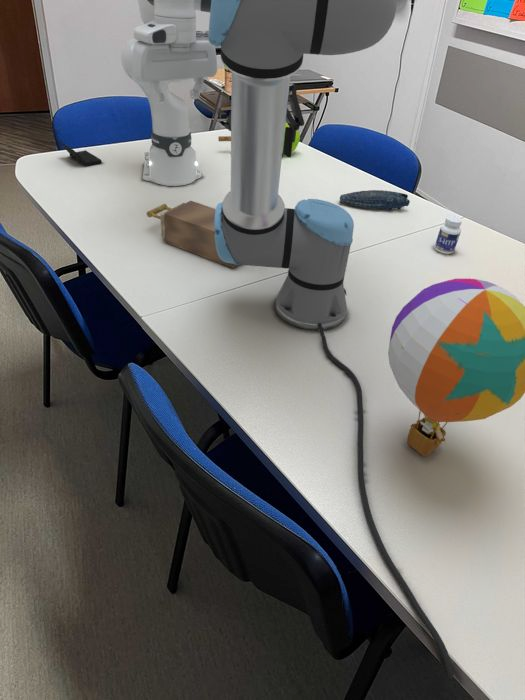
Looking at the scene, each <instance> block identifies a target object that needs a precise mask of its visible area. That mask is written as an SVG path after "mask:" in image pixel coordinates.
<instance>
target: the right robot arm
mask: <svg viewBox="0 0 525 700" xmlns="http://www.w3.org/2000/svg"><path fill="white" fill-rule="evenodd" d="M396 12H397V0H212V1H211V10H210V12H209V22H208V23H209V25H208V31H209V42H210V43H211V44H212V45H215V47H216V48H220V60H221V63H222V65H223V66H224V67H225V68H226V69H227V70H228V71H229V72H230V75H231V77H230V78H231V82H230V83H231V84H230V89H231V94H230V95H231V96H230V100H231V101H230V105H231V106H230V112H229V114H228V117H227V118H226V121H225V122H224V128H225V129H226V130H228V131H229V132H230V136H231V141H230V191H228V193H226V195H225V196H224V198H223V200H222V202H219V203H218V204H217V205H216V207H215V209H216V210H215V219H214V229H215V244H216V250H217V253H218V256H219V258H220V259H221V260H222V261H224V262H226V263H232V264H237V265H238V266H251V267H265V268H278V269H288V270H287V271H288V272H287V275H286V278H285V279H284V282H283V283H282V285H281V287H280V290H279V291H278V294H277V296H276V300H275V311H276V313H277V315H278V316H279V317H280V318H281V319H282V320H283V321H284V322H286V323H287V324H289V325H291V326H293V327H296V328H300V329H304V330H310V331H318V332H319V335H320V337H321V342H322V347H323V350H324V352H325V354H326V355H327V357H328V358H329V360H331V361H332V362H333V363H334V364H335V365H336V366H338V367H339V368H340V369H342V370H343V371H344V372H345V373H346V374H347V375H348V376H349V377H350V378H351V380H352V382H353V383H354V386H355V389H356V393H357V395H356V396H357V414H358V415H357V417H358V427H357V428H358V429H357V430H358V431H357V474H358V475H357V479H358V486H359V492H360V498H361V503H362V508H363V510H364V514H365V518H366V521H367V525H368V526H369V529H370V532H371V535H372V537H373V539H374V541H375V544H376V546H377V548H378V550H379V553H380V554H381V556H382V558H383V560H384V562H385V564H386V566H387V567H388V569H389V571H390V573H392V575H393V577H394V579H395V580H396V582H397V583H398V584H399V586H400V588H401V590H402V591H403V592H404V595H405V596H406V597H407V600H408V601H409V603H410V606H411V607H412V608H413V610H414V612H415V613H416V615H417V616H418V617H419V619H420V621H421V622H422V624H423V625H424V627H425V629H427V631H428V632H429V634H430V636H431V638H432V639H433V641H434V643H435V645H436V646H437V648H438V651H439V654H440V656H441V658H442V662H443V666H444V670H445V671H444V673H445V675H446V677H447V678H448V679H450V680H452V679H453V678H454V671H453V664H452V662H451V658H450V654H449V652H448V649H447V647H446V645H445V643H444V641H443V639H442V637H441V635H440V633H439V632H438V630H437V629H436V627H435V626H434V625H433V624H432V622H431V620H430V619H429V617H428V616H427V615H426V613H425V612H424V610H423V609H422V607H421V605H420V604H419V602H418V600H417V599H416V597H415V595H414V594H413V592H412V590H411V589H410V587H409V585H408V584H407V581H406V580H405V579H404V578H403V576H402V575H401V573H400V571H399V569H398V568H397V566H396V565H395V563H394V562H393V559H392V558H391V557H390V554H389V553H388V550H387V549H386V547H385V545H384V543H383V541H382V539H381V536H380V534H379V530H378V529H377V527H376V524H375V521H374V518H373V515H372V511H371V507H370V504H369V499H368V494H367V489H366V484H365V483H366V482H365V474H364V423H365V422H364V421H365V420H364V403H363V391H362V387H361V384H360V381H359V379H358V378H357V376H356V375H355V373H354V372H353V371H352V370H351V369H350V368H349V367H348V366H346V365H345V364H344V363H343V362H342V361H340V360H339V359H338V358H336V357H335V356H334V354H332V352H331V351H330V349H329V346H328V343H327V337H326V334H325V332H324V330H325V331H326V330H329V329H333V328H336V327H337V326H339V325H340V324H342V323H343V322H344V320H345V318H346V315H347V310H348V309H347V308H348V307H347V306H348V305H347V297H346V296H348V295H347V289H345V286H344V280H345V275H346V271H347V267H348V266H347V265H348V260H349V257H350V251H351V245H352V244H353V242H354V239H353V236H354V228H355V223H354V219H353V217H352V216H351V214H350V213H349V212H348V211H347V210H345V209H344V208H342V207H341V206H340V205H337V204H335V203H333V202H331V201H328V200H323V199H318V198H307V199H301V200H299V201H298V202H297V203H296V205H295V206H294V208H288V207H285V206H286V205H285V202H284V199H283V198H282V197H281V196H280V194H279V187H280V180H281V171H282V159H283V155H284V156H285V157H286V158H291V157H292V152H293V151H292V142H295V137H296V130H298V131H299V130H300V127H303V126H304V125H305V120H304V117H303V113H302V109H301V105H300V103H299V99H298V95H297V92H298V91H297V88H298V87H297V85H296V84H294V83H292V82H291V77H292V76H293V75H295V74H296V73H297V72H299V70H300V69H301V67H302V66H303V62H304V55H317V56H318V55H321V56H339V55H347V54H353V53H356V52H360V51H364V50H366V49H369V48H371V47H373V46H375V45H376V44H378V43H379V42H380V41H381V40H383V38H384V37H385V36H386V35H387V34H388V32H389V30H390V29H391V27H392V25H393V23H394V20H395V17H396ZM288 103H289V106H290V110H291V111H290V110H289V108H288ZM291 112H292V113H291ZM285 123H287V124H288V125H289V127H285ZM284 131H285V138H284ZM283 141H284V148H283ZM282 151H283V153H282ZM291 151H292V152H291Z"/></svg>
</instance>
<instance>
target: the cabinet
mask: <svg viewBox="0 0 525 700" xmlns="http://www.w3.org/2000/svg"><path fill="white" fill-rule="evenodd" d="M184 203H185V204H183V205H181V206H179V207H177V208H175V209H172V210H170V211H168V210H167V211H168V212H166V211H165V212H166V213H164V212H163V213H164V216H165V238H164V239H165V243H166V244H168V245H170V246H173V247H176V248H179V249H181V250H184V251H186V252H189V253H191V254H193V255H197V256H199V257H202V258H205V259H207V260H210V261H212V262H215V263H217V264H220V265H222V266H225V267H228V268H230V269H235V268H237V267H238V266H239V265H237V264H232V263H226V262H224V261H222V260H221V259H220V258H219V256H218V253H217V250H216V244H215V229H214V219H215V210H216V208H215V207H211V206H208V205H206V204H203V203H200V202H197V201H194V200H189V201H186V202H184Z"/></svg>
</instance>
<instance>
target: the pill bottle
mask: <svg viewBox="0 0 525 700" xmlns="http://www.w3.org/2000/svg"><path fill="white" fill-rule="evenodd" d="M462 222H463V219H461V218H460V217H458V216H455V215H448V216H446V218H445V220H444V223H443V224H442V225H440V228H439V231H438V234H437V237H436V240H435V243H434V250H435V251H437V252H439V253H441V254H447V255H449V254H453V253H454V252H455V250H456V247H457V244H458V242H459V239H460V236H461V233H462V229H461V225H462Z"/></svg>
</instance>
